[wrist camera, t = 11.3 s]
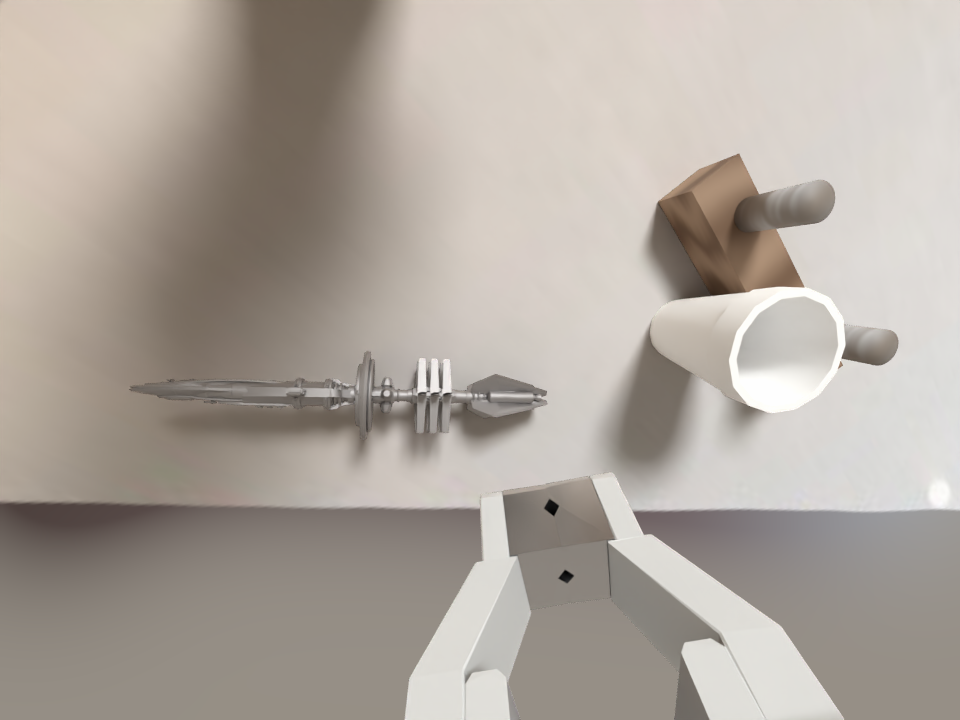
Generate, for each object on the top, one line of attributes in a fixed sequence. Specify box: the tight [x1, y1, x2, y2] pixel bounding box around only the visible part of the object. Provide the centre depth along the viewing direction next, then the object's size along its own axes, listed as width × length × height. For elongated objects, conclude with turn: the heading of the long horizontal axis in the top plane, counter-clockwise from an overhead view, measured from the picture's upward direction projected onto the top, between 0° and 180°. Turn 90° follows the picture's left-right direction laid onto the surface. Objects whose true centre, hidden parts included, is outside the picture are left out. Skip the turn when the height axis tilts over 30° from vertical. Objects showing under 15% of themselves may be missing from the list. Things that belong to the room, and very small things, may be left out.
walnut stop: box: [658, 154, 898, 369], centre depth 35 cm, size 24×5×11 cm, turn 38°
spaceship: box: [129, 351, 547, 440], centre depth 34 cm, size 8×35×8 cm
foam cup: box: [649, 287, 846, 413], centre depth 34 cm, size 10×9×13 cm
